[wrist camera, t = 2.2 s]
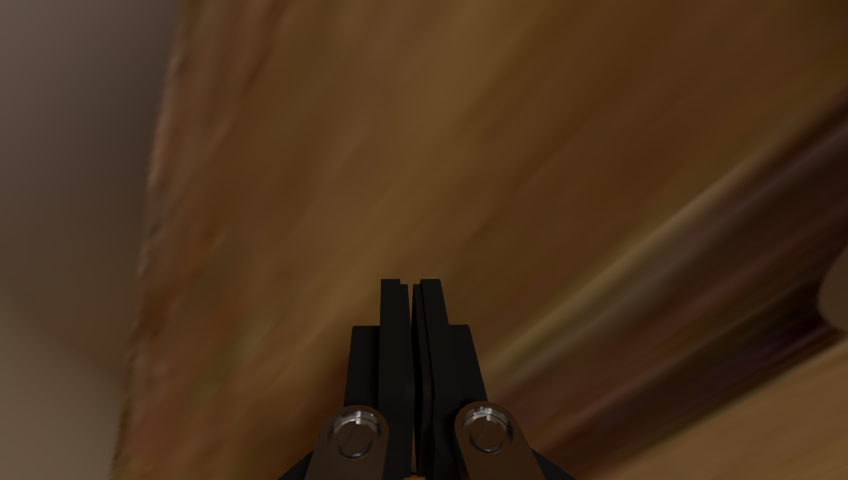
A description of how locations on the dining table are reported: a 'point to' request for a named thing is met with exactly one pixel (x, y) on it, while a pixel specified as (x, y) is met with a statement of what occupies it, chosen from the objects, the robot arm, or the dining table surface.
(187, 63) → the dining table surface
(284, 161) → the dining table surface
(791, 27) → the dining table surface
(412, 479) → the object ball
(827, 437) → the dining table surface
